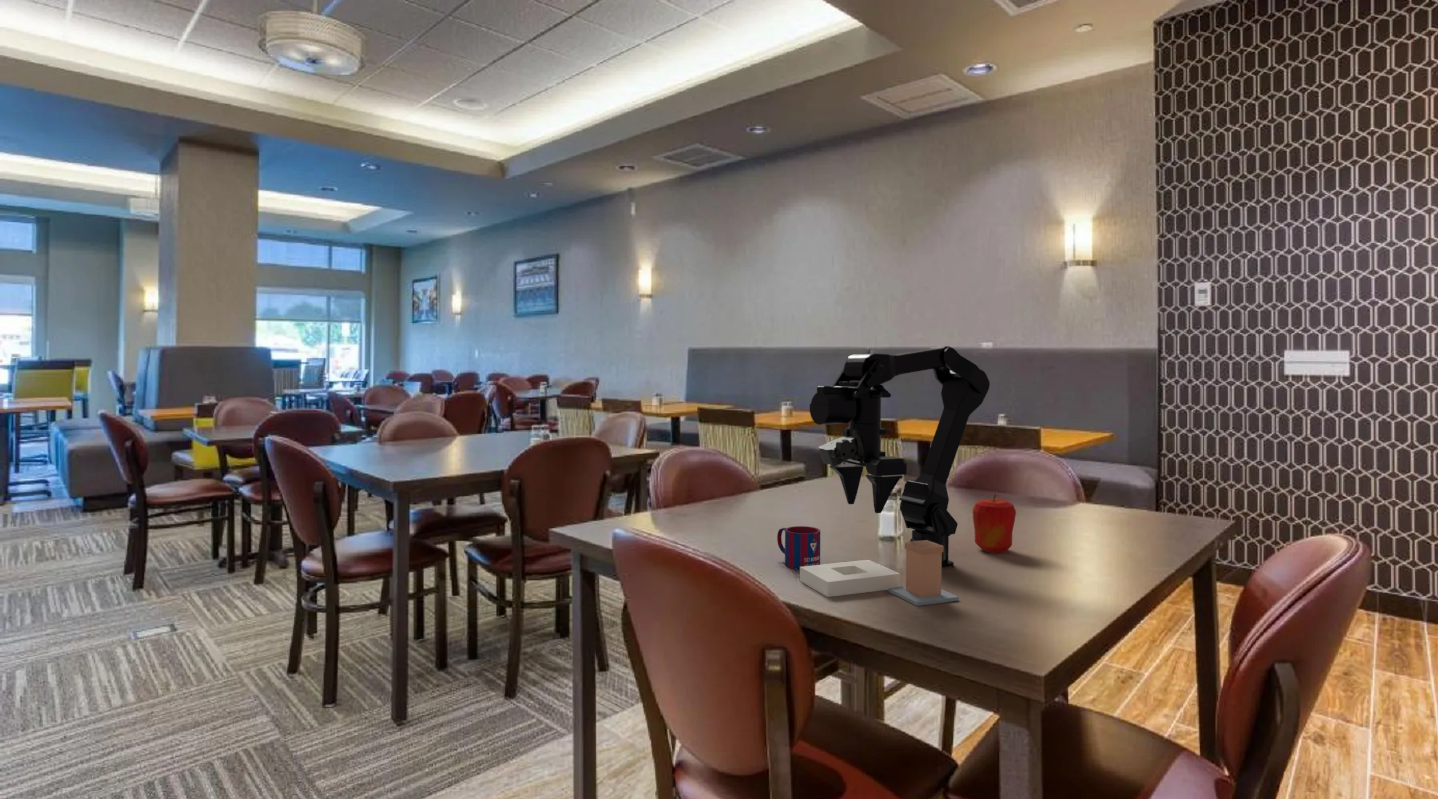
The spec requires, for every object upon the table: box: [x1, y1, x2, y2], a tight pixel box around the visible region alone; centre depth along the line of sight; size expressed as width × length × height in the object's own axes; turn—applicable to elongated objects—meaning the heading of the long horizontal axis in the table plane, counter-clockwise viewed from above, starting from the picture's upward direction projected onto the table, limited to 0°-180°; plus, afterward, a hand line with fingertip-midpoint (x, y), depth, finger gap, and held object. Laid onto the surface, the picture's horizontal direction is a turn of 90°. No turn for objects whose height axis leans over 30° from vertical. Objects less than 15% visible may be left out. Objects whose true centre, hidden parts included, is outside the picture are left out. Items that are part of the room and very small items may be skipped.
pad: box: [887, 585, 960, 607], centre depth 122 cm, size 8×8×1 cm
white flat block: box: [799, 559, 901, 598], centre depth 128 cm, size 14×10×2 cm
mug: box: [776, 525, 821, 570], centre depth 143 cm, size 7×10×7 cm
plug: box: [904, 540, 944, 597], centre depth 122 cm, size 4×4×8 cm
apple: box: [971, 493, 1017, 554], centre depth 152 cm, size 9×8×12 cm
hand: (864, 508), depth 135 cm, fingers open, 9 cm apart
